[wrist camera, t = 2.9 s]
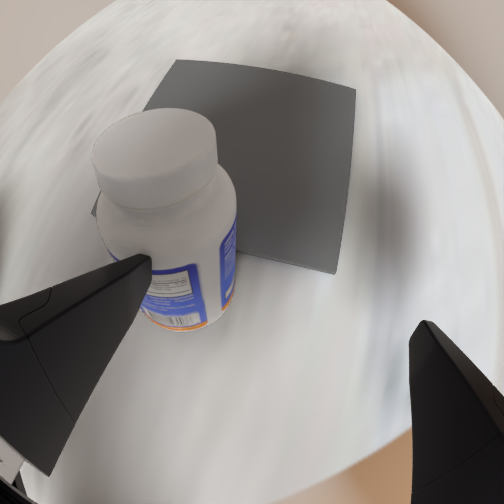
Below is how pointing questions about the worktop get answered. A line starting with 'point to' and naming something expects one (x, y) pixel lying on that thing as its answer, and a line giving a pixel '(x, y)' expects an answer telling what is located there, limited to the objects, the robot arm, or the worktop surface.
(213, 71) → the rubber mat
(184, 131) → the pill bottle
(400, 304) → the worktop surface
